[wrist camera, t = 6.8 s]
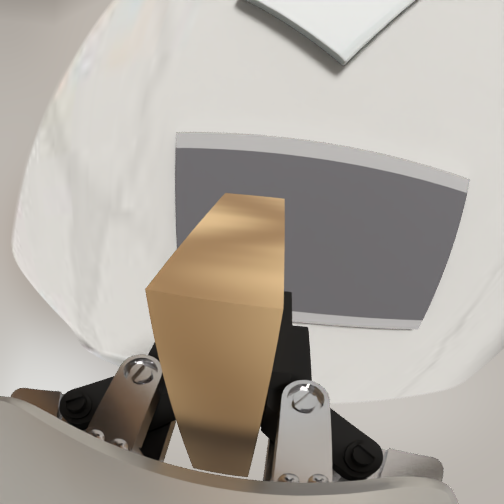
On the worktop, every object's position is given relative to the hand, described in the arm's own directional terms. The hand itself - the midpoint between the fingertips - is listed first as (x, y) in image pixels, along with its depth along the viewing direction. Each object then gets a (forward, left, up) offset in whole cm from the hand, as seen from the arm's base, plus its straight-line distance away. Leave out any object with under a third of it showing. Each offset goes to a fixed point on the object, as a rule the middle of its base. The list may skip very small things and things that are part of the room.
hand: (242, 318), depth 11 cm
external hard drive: (-4, -19, -9) cm, 22 cm away
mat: (-4, 0, -9) cm, 10 cm away
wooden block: (0, 0, -1) cm, 1 cm away
